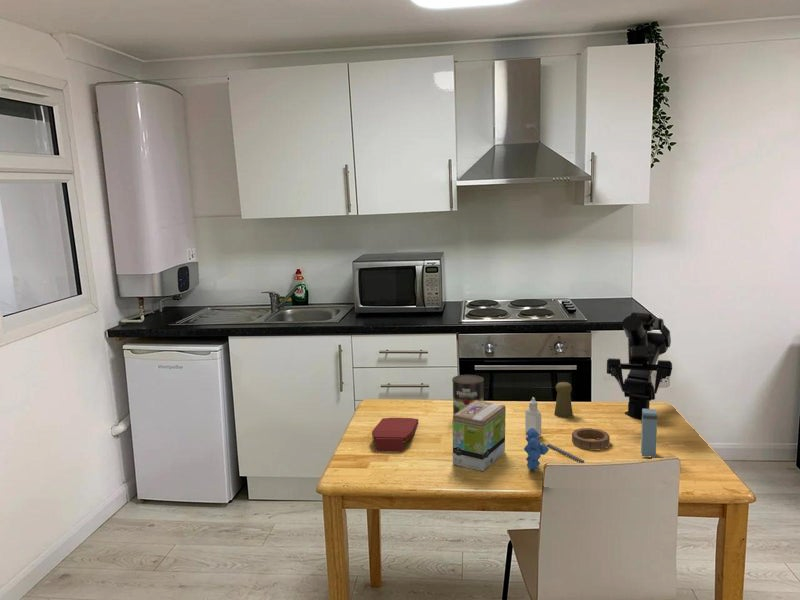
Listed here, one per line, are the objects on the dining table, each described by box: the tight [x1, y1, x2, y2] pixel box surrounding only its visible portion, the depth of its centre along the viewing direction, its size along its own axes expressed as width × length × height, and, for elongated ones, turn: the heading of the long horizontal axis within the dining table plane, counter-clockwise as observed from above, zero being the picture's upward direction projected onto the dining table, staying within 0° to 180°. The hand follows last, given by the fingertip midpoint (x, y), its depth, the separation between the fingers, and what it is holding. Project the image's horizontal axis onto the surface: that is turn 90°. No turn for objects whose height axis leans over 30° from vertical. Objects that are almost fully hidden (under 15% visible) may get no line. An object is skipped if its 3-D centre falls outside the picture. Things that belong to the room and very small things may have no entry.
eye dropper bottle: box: [524, 396, 542, 438], centre depth 192 cm, size 4×6×12 cm
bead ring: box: [571, 427, 611, 450], centre depth 185 cm, size 10×10×2 cm
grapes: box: [523, 428, 550, 471], centre depth 168 cm, size 12×7×12 cm, turn 172°
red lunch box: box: [371, 417, 419, 453], centre depth 196 cm, size 12×5×25 cm
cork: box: [554, 381, 574, 419], centre depth 208 cm, size 6×6×11 cm
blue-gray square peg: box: [640, 408, 658, 458], centre depth 175 cm, size 4×4×13 cm
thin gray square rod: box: [546, 443, 585, 463], centre depth 178 cm, size 1×14×1 cm, turn 28°
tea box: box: [452, 400, 507, 472], centre depth 176 cm, size 15×10×15 cm, turn 148°
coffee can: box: [451, 374, 485, 416], centre depth 207 cm, size 10×10×14 cm
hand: (639, 392), depth 188 cm, fingers open, 9 cm apart
